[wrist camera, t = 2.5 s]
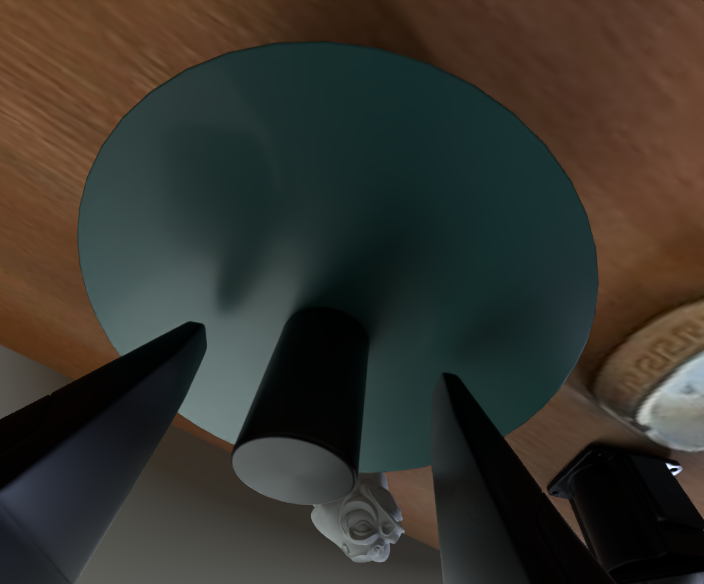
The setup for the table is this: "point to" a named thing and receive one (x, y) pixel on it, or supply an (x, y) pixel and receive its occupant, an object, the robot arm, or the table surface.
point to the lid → (338, 255)
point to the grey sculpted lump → (362, 519)
